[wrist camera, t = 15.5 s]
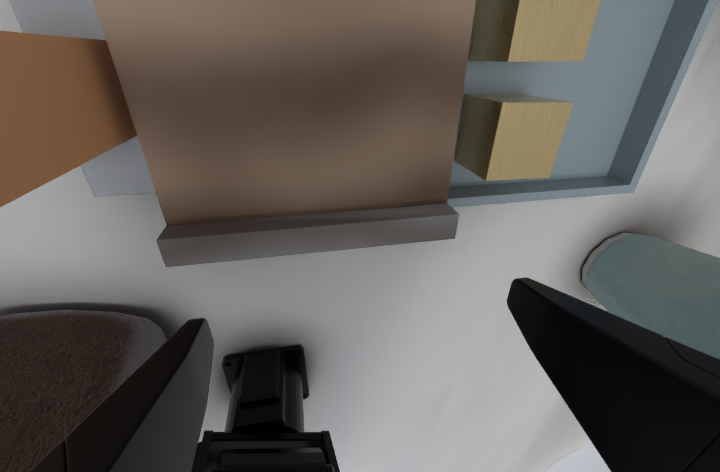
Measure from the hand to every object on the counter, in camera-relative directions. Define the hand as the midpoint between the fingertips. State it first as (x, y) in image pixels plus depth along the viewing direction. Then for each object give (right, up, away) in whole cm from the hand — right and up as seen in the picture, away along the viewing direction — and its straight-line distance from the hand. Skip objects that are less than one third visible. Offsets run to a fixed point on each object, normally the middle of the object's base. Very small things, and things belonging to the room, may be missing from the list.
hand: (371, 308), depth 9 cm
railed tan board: (-3, +10, +9) cm, 14 cm away
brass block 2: (+6, +8, +9) cm, 14 cm away
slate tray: (+11, +12, +11) cm, 19 cm away
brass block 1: (+6, +13, +6) cm, 16 cm away
